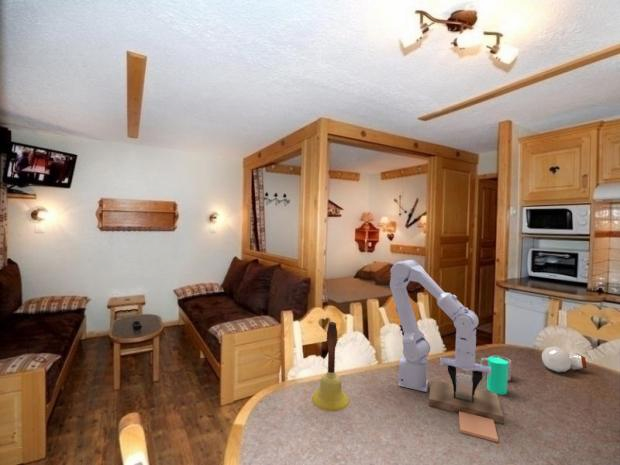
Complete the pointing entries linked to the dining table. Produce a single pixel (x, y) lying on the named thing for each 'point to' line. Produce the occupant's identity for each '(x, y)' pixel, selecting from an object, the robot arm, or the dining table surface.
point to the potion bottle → (562, 359)
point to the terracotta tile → (477, 426)
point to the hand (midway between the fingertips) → (463, 391)
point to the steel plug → (463, 387)
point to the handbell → (331, 380)
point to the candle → (497, 375)
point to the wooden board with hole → (481, 406)
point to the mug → (503, 359)
